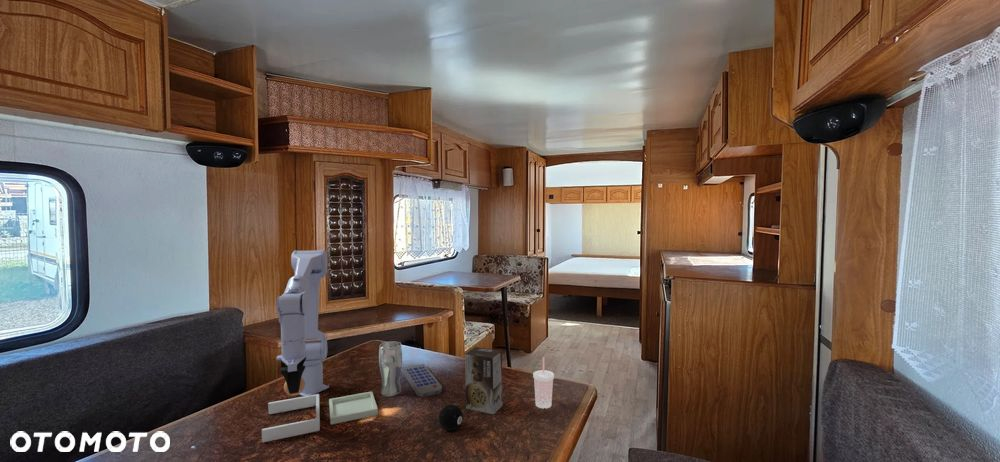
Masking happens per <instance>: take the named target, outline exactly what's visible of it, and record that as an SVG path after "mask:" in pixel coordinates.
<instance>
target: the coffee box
mask: <svg viewBox="0 0 1000 462" xmlns="http://www.w3.org/2000/svg"><path fill="white" fill-rule="evenodd" d="M502 352H503V351H502V350H500V349H499V350H498V349H492V348H485V347H479V346H474V347H473V348H471V349H469V351H467V352H465V353H464V364H465V365H464V367H465V369H464V371H465V409H466V410H470V411H475V412H481V413H485V414H490V415H495V414H496V413H497V412H498V411H499V410H500V409H501V408H502V407H503V353H502Z"/></svg>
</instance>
